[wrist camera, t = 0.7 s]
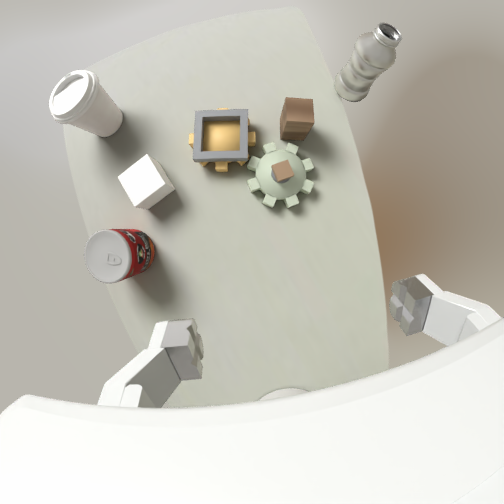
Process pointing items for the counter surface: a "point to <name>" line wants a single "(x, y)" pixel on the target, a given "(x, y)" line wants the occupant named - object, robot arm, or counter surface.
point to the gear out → (221, 137)
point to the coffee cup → (85, 104)
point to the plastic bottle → (367, 62)
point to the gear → (280, 175)
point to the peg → (296, 118)
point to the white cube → (146, 182)
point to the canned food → (118, 254)
